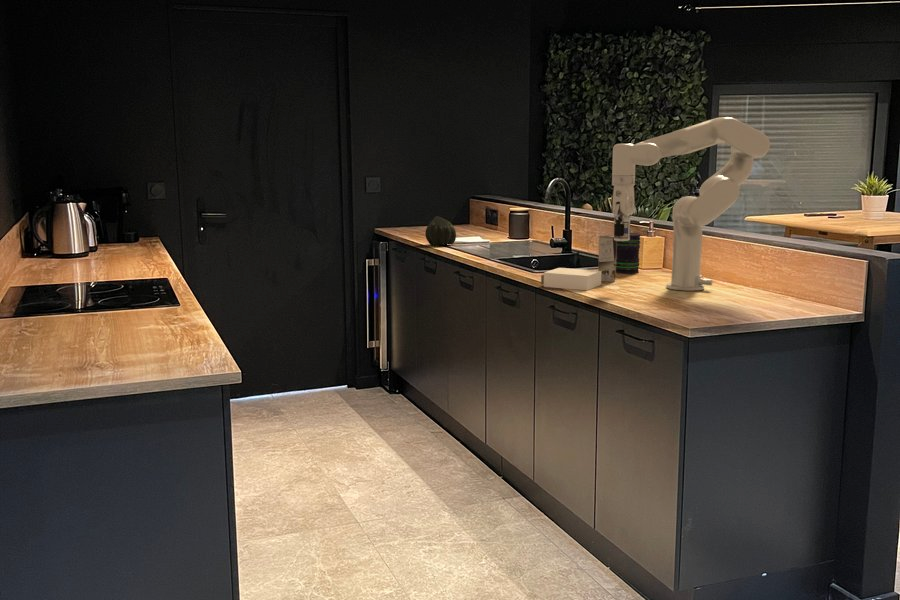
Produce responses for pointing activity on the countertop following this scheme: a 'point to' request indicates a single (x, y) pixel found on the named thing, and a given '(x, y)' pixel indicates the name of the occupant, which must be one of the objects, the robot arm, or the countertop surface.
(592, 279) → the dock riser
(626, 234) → the pill bottle
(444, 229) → the squash
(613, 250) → the coffee box
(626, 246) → the storage jar
